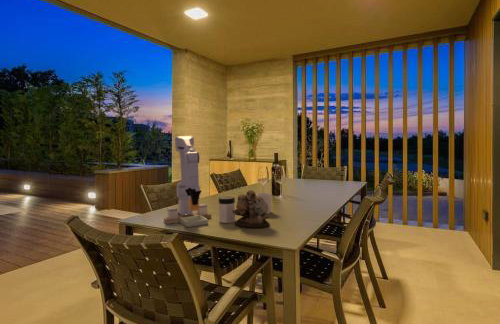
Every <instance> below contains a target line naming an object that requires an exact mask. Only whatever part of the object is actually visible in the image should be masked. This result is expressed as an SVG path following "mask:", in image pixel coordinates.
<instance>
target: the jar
mask: <svg viewBox="0 0 500 324" xmlns="http://www.w3.org/2000/svg"><path fill="white" fill-rule="evenodd" d="M235 202H236V197H235V196H232V195H231V196H230V195H229V196H227V195H226V196H225V195H224V196H220V197H218V222H219V223H223V224H229V223H235V222H236V215H235V213H233V210H236V203H235Z"/></svg>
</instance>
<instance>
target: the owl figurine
mask: <svg viewBox="0 0 500 324" xmlns="http://www.w3.org/2000/svg"><path fill="white" fill-rule="evenodd" d="M267 205H268V204H267V203H266V202H265V201H264V200H263V198H262V197H257V193H256V192H255V190H252V189H250V190H249V189H248V191H246V194H244V193H240V194H238V196H237V202H236V205H235V210H233V213H235V216H238V217H240V218H238V219H237V220H235V222H234V225H235V227H237V228H241V229H242V228H243V229H249V230H250V229H251V230H255V229H256V230H258V229H265V228H269V227H270V226H271V225H270V224H271V223H270V222H269V221H268V220H267V219H269V218H270V215H269V214H266V213H267V211H268V206H267Z"/></svg>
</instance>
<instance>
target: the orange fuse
mask: <svg viewBox="0 0 500 324" xmlns="http://www.w3.org/2000/svg"><path fill="white" fill-rule="evenodd" d="M199 204H200V200H199V199H198V204H197V205H193V203H192V198H191V195H189V196H188V210H190V211H193V212H195V211H197V210H199Z"/></svg>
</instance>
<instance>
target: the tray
mask: <svg viewBox="0 0 500 324" xmlns="http://www.w3.org/2000/svg"><path fill="white" fill-rule="evenodd" d="M180 222H181V223H182V224H181V223H180V224H181V225H183V226H184V225H185V226H184V227H186V228H187V227H188V228H192V227H193V226H194V227H198V226H205V225H209V219H207V218H205V217H203V216H201V215H198V216H191V217H184V218H180ZM194 227H193V228H194Z"/></svg>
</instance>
